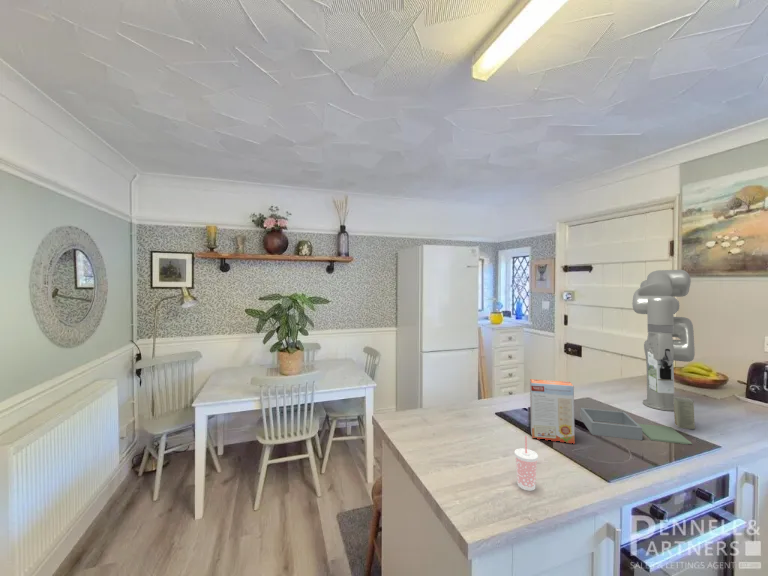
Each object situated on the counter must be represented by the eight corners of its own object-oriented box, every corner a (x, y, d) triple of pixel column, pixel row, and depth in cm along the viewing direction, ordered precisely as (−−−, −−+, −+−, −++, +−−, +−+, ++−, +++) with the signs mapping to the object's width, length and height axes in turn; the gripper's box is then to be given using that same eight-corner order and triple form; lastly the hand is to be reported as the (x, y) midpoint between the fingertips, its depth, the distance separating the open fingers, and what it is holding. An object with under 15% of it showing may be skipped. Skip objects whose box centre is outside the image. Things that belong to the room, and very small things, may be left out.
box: (690, 425, 129) (690, 398, 129) (695, 429, 125) (694, 401, 125) (673, 423, 132) (673, 396, 132) (677, 427, 128) (677, 399, 128)
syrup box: (675, 393, 118) (674, 354, 119) (656, 393, 120) (656, 354, 120) (665, 389, 124) (664, 351, 124) (647, 388, 125) (647, 351, 125)
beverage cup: (513, 477, 94) (513, 429, 94) (536, 481, 93) (536, 432, 93) (515, 490, 88) (515, 439, 89) (540, 494, 87) (539, 442, 87)
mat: (634, 424, 130) (634, 423, 130) (671, 428, 127) (671, 427, 127) (651, 440, 117) (651, 438, 117) (692, 445, 113) (692, 443, 113)
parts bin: (580, 418, 137) (580, 407, 137) (624, 422, 132) (624, 411, 132) (591, 434, 122) (591, 422, 122) (642, 440, 117) (642, 427, 117)
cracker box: (571, 437, 120) (570, 381, 120) (575, 444, 114) (574, 385, 114) (530, 432, 124) (529, 378, 124) (531, 439, 119) (531, 382, 119)
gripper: (638, 326, 131) (638, 370, 131) (659, 331, 115) (660, 382, 115) (660, 327, 129) (661, 371, 129) (685, 332, 113) (686, 384, 113)
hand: (660, 376), depth 122 cm, fingers closed on syrup box, 6 cm apart
